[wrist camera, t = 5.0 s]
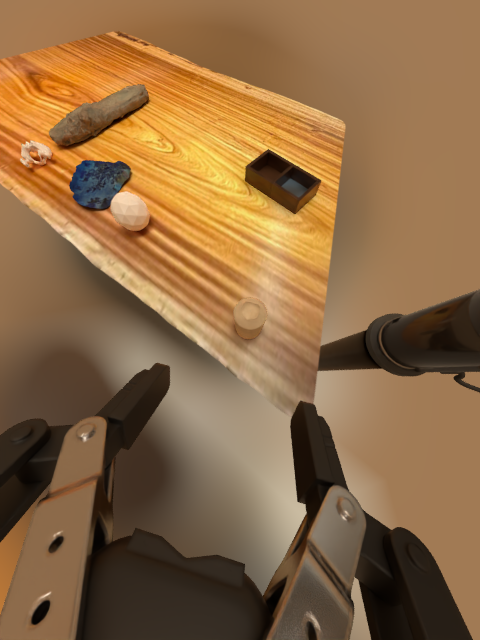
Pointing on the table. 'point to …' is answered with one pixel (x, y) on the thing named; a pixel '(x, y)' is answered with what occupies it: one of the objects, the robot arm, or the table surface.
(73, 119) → the long grey stone
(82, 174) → the rock
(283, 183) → the box
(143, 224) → the geometric ball
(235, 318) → the candle
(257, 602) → the robot arm
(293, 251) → the table surface
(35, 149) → the pelvis model
